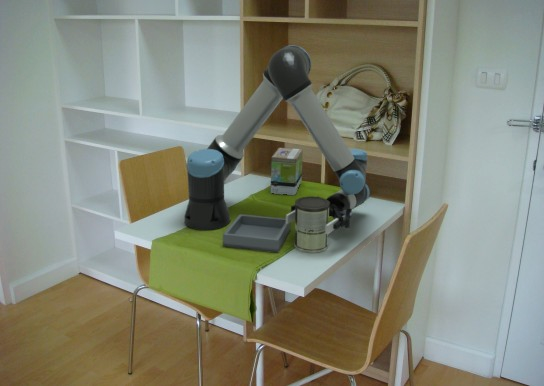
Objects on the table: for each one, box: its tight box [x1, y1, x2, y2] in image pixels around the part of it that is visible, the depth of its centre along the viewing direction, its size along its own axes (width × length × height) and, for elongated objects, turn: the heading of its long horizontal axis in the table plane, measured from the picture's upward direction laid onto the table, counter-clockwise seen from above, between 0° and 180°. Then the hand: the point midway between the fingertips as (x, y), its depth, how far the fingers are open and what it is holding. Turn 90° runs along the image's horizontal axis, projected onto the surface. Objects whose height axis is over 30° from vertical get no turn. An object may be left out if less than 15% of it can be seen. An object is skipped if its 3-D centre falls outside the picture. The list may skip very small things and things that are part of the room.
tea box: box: [270, 147, 303, 196], centre depth 219 cm, size 15×10×15 cm
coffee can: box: [293, 195, 330, 254], centre depth 169 cm, size 10×10×14 cm
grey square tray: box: [222, 213, 292, 253], centre depth 175 cm, size 17×17×4 cm
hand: (306, 224), depth 166 cm, fingers open, 13 cm apart
